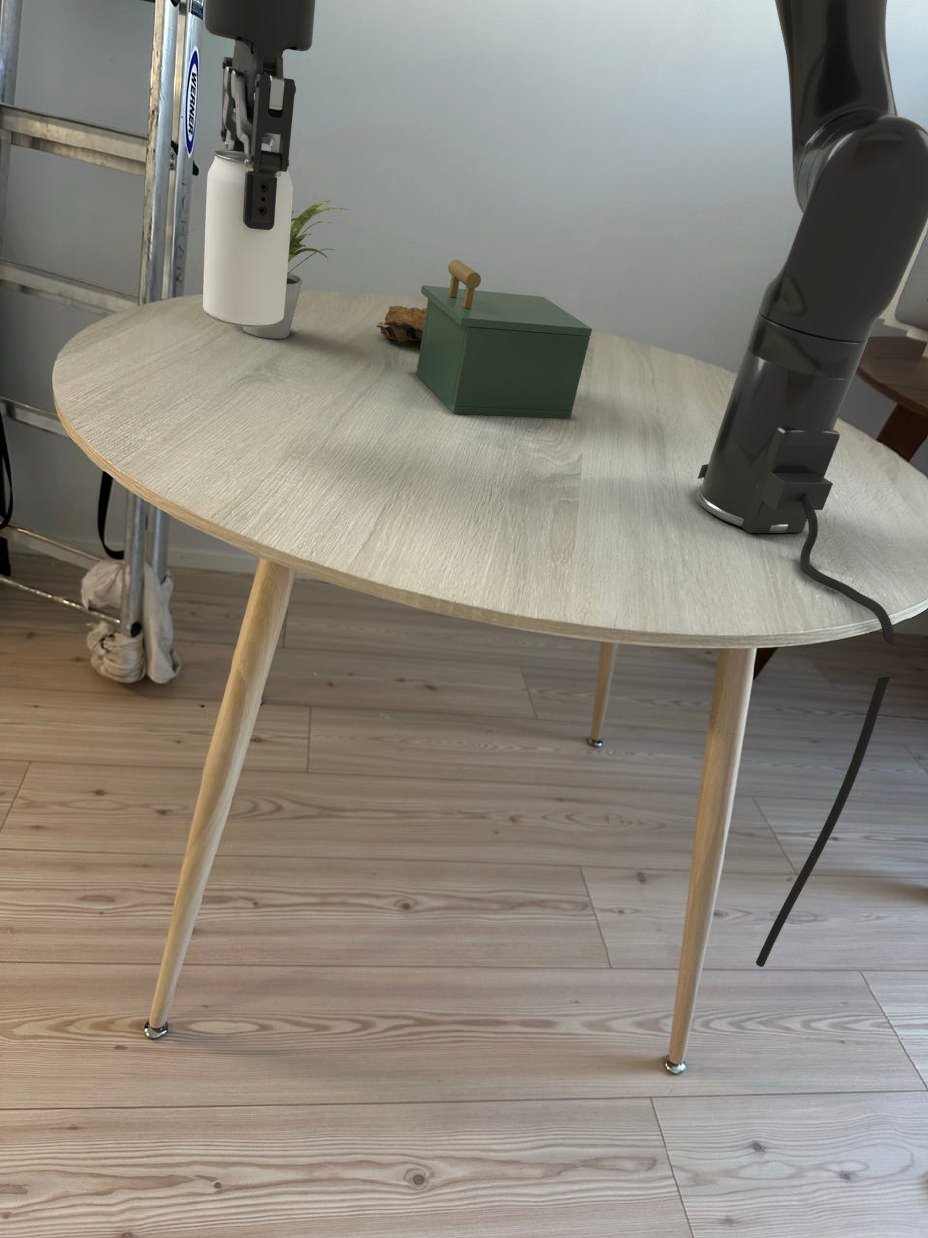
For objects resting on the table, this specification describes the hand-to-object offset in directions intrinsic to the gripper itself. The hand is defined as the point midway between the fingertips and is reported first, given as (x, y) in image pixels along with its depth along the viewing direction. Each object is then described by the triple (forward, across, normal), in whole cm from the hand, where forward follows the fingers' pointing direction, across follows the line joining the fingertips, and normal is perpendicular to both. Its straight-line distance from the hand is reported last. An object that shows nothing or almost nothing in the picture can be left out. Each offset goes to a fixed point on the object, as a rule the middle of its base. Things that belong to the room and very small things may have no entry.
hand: (248, 217), depth 77 cm
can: (+8, 0, 0) cm, 8 cm away
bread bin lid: (+9, -12, +29) cm, 33 cm away
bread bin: (+18, -12, +30) cm, 37 cm away
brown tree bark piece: (+18, -30, +30) cm, 46 cm away
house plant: (+18, -29, +10) cm, 35 cm away
